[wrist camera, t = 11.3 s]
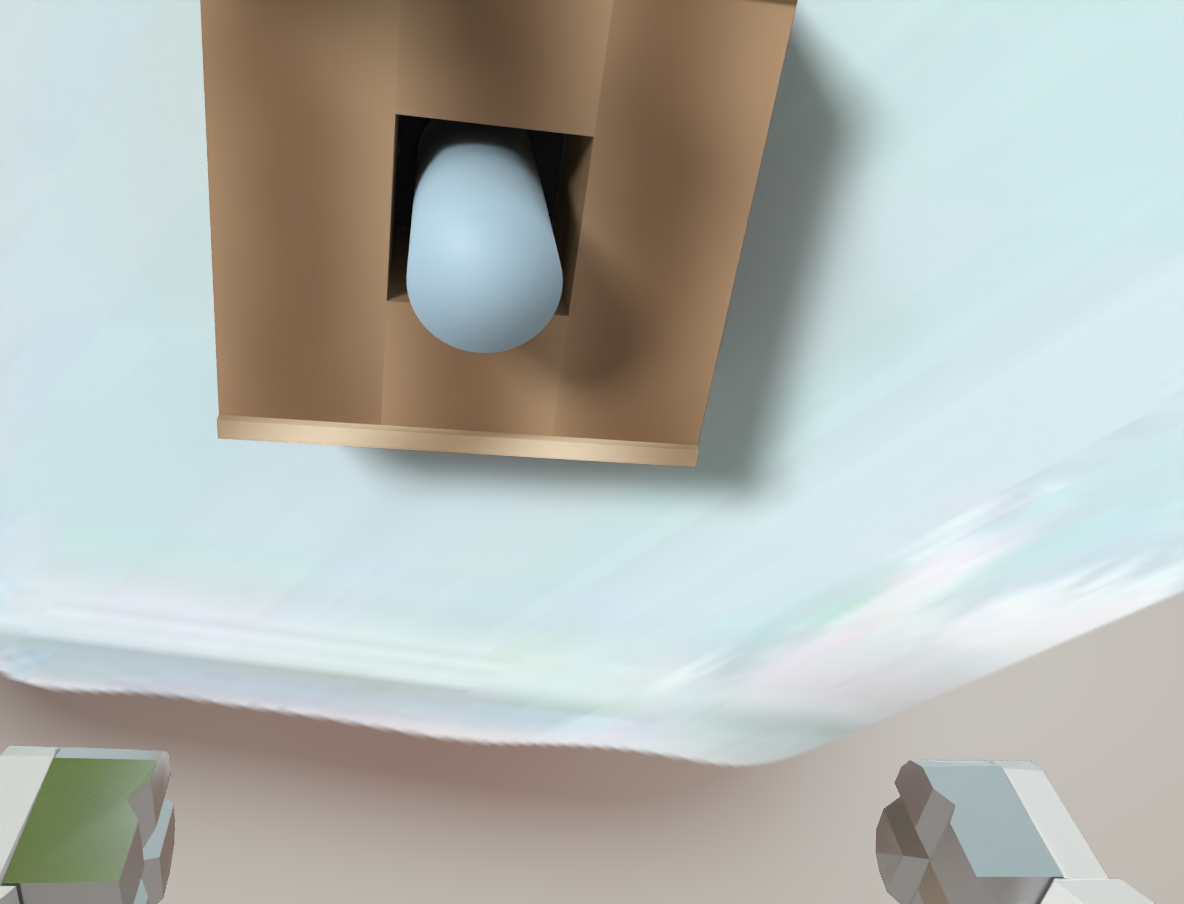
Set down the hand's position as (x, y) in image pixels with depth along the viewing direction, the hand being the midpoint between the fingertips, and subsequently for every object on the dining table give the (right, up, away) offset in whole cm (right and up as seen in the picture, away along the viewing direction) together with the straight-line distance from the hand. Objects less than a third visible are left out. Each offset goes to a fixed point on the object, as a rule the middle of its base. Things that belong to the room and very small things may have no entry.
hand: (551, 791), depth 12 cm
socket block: (-3, +13, +21) cm, 25 cm away
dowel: (-3, +13, +21) cm, 25 cm away
